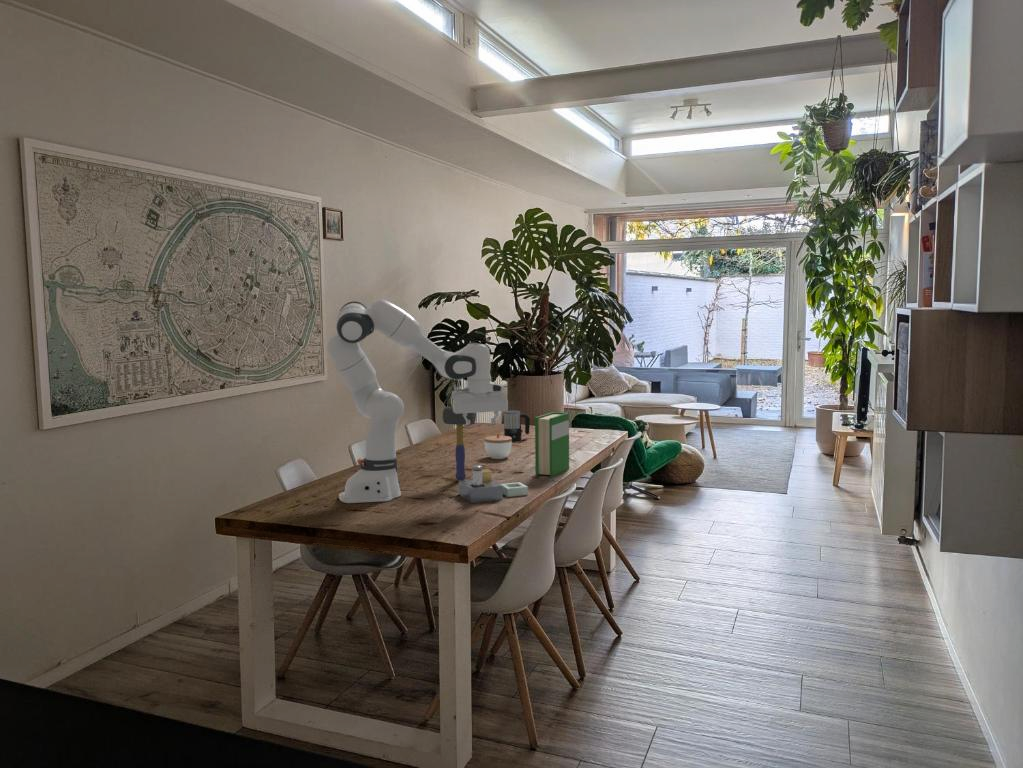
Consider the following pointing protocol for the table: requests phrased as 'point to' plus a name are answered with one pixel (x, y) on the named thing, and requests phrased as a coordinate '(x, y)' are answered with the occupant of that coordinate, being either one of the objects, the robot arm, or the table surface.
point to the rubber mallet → (458, 437)
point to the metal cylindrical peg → (477, 476)
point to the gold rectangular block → (486, 475)
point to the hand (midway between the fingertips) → (480, 424)
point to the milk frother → (515, 424)
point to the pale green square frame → (514, 489)
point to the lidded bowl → (498, 446)
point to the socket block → (480, 491)
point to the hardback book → (552, 443)
